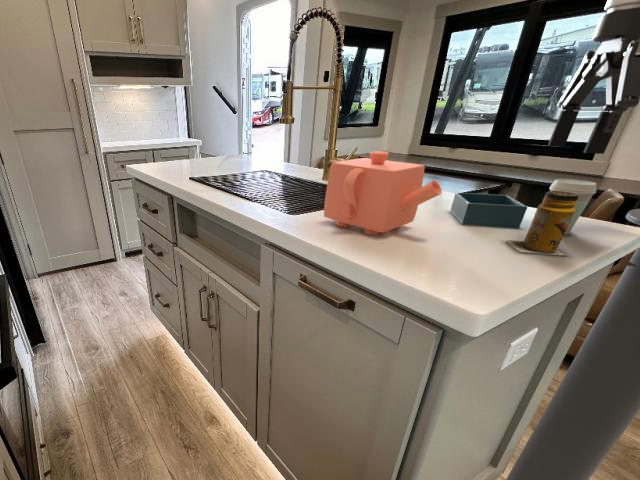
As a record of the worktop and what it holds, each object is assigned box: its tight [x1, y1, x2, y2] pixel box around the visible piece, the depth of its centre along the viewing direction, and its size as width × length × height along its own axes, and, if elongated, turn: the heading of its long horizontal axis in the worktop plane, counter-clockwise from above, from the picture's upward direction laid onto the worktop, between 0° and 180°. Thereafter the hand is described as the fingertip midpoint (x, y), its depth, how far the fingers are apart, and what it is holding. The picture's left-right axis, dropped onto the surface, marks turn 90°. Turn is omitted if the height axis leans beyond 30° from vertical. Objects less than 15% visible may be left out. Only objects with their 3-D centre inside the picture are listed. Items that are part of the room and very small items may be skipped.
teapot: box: [323, 150, 442, 236], centre depth 87 cm, size 25×23×18 cm
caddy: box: [449, 192, 528, 230], centre depth 97 cm, size 13×13×6 cm
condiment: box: [505, 190, 578, 256], centre depth 76 cm, size 7×8×12 cm
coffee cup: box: [548, 178, 597, 236], centre depth 86 cm, size 8×8×12 cm
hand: (573, 149), depth 69 cm, fingers open, 13 cm apart
